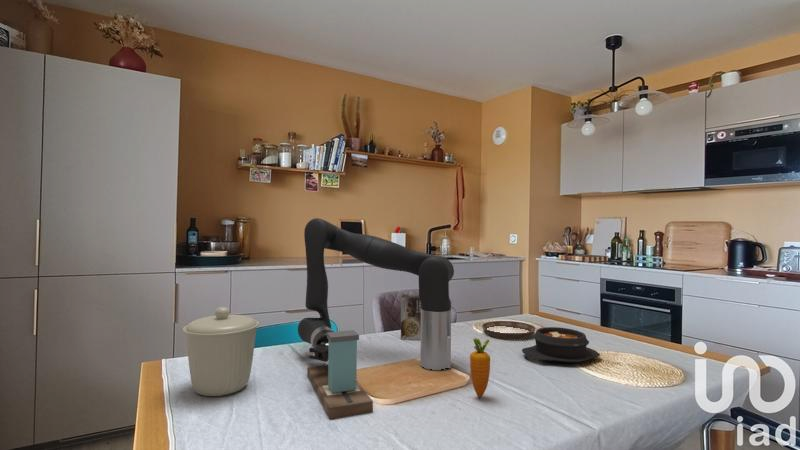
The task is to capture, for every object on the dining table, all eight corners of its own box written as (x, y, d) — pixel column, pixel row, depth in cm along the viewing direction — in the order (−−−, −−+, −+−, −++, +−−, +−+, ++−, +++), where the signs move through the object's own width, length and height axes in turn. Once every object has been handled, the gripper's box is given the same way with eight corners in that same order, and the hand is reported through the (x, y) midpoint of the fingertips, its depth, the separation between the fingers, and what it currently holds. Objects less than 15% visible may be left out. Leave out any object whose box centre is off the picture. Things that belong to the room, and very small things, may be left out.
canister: (181, 409, 93) (182, 317, 94) (182, 382, 109) (183, 303, 110) (263, 395, 102) (264, 310, 102) (253, 372, 118) (254, 299, 118)
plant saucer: (482, 340, 154) (482, 331, 154) (481, 327, 175) (481, 319, 175) (539, 343, 151) (539, 334, 151) (531, 329, 171) (531, 321, 171)
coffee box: (425, 336, 159) (425, 294, 159) (424, 340, 152) (424, 297, 152) (401, 335, 159) (402, 293, 160) (400, 339, 153) (400, 296, 153)
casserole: (541, 370, 122) (541, 342, 122) (511, 351, 140) (511, 327, 140) (614, 365, 127) (614, 338, 127) (576, 347, 145) (576, 324, 145)
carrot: (491, 395, 103) (491, 335, 103) (488, 403, 98) (489, 341, 98) (471, 392, 105) (471, 333, 105) (468, 400, 100) (468, 338, 100)
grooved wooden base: (307, 375, 115) (307, 366, 115) (342, 371, 119) (342, 362, 119) (329, 419, 89) (329, 407, 89) (372, 412, 93) (372, 400, 93)
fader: (326, 386, 100) (326, 332, 100) (353, 382, 103) (353, 330, 103) (330, 393, 96) (331, 337, 96) (358, 389, 98) (359, 334, 98)
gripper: (302, 331, 115) (313, 348, 98) (348, 327, 120) (366, 343, 104) (302, 358, 114) (313, 379, 98) (347, 352, 120) (365, 372, 103)
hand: (340, 360), depth 101 cm, fingers closed
